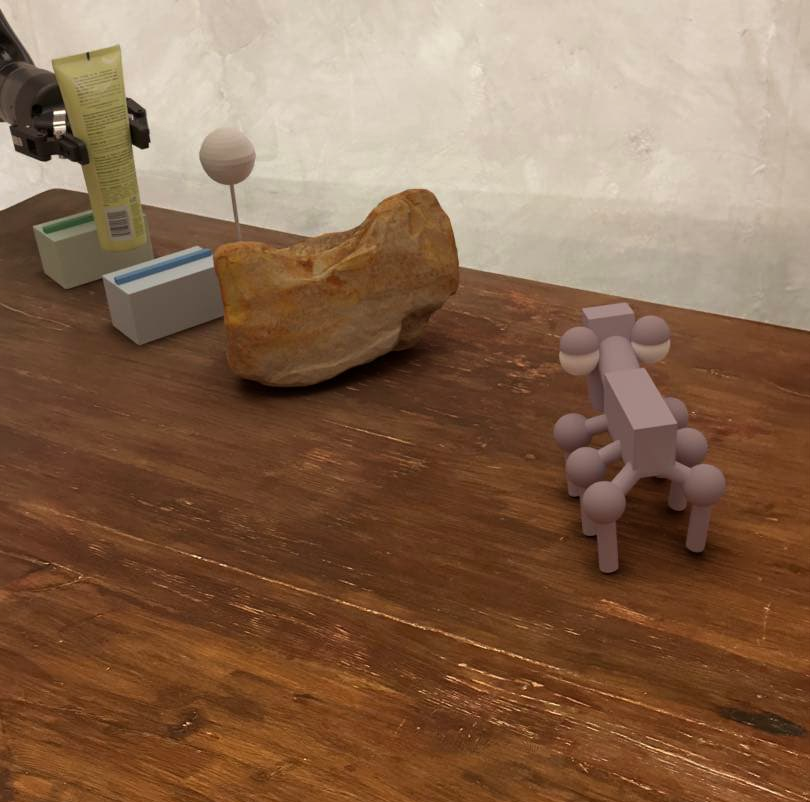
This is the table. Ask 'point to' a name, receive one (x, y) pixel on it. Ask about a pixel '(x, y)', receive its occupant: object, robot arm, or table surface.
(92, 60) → the tube
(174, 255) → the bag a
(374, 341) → the orange sandstone rock
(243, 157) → the lollipop
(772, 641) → the table surface
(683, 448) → the mauve legged toy figure
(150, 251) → the pale green box
